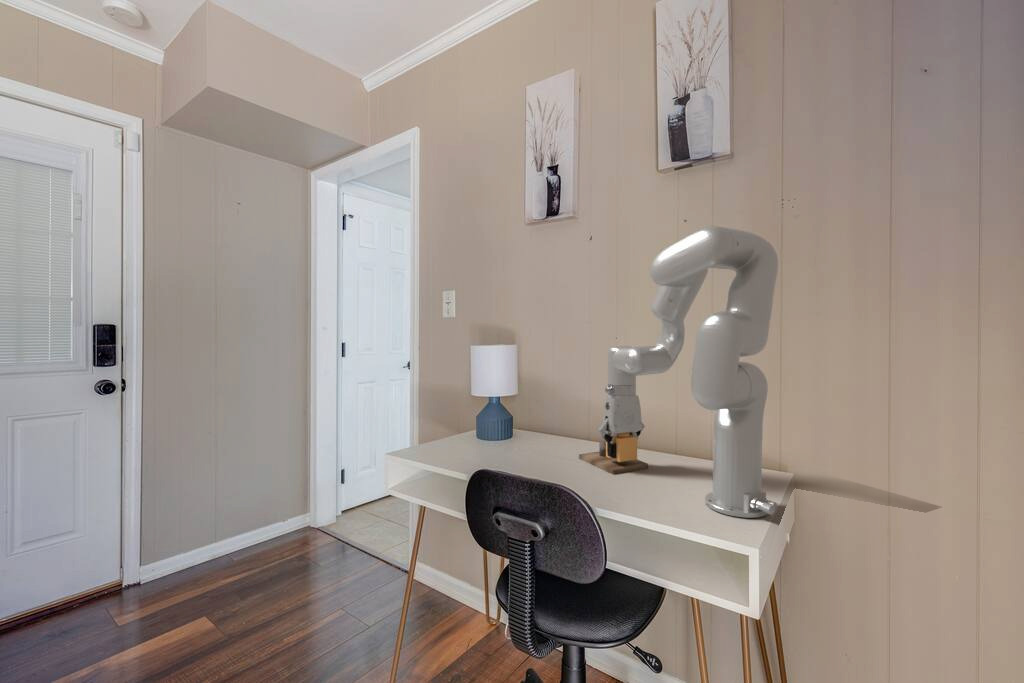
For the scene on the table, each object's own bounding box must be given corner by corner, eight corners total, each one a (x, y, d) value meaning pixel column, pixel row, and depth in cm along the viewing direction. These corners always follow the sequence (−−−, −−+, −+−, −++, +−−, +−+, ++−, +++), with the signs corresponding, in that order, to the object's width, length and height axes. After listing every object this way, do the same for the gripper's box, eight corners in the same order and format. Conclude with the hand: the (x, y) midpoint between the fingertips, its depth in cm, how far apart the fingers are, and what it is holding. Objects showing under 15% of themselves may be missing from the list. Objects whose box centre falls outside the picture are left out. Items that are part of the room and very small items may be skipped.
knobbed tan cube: (637, 459, 128) (637, 433, 127) (619, 462, 125) (619, 435, 125) (623, 453, 133) (623, 428, 133) (605, 456, 130) (606, 430, 130)
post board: (648, 468, 128) (648, 443, 128) (612, 474, 123) (612, 449, 123) (612, 453, 143) (612, 431, 142) (579, 458, 137) (579, 435, 137)
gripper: (604, 394, 121) (604, 463, 122) (655, 390, 129) (655, 455, 129) (587, 391, 128) (587, 456, 129) (637, 387, 135) (637, 448, 136)
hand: (621, 454), depth 129 cm, fingers closed on knobbed tan cube, 5 cm apart
